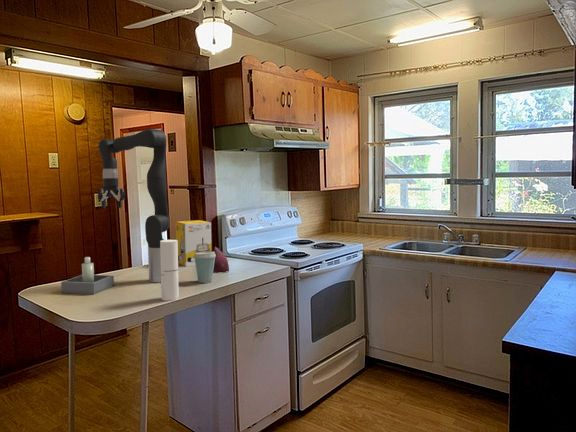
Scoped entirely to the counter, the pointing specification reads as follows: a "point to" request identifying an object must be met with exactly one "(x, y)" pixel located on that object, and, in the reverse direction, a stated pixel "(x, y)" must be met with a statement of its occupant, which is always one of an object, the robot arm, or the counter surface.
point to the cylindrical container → (169, 270)
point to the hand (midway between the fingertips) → (111, 208)
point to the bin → (87, 285)
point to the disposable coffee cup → (205, 266)
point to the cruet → (88, 271)
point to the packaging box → (192, 240)
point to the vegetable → (220, 262)
